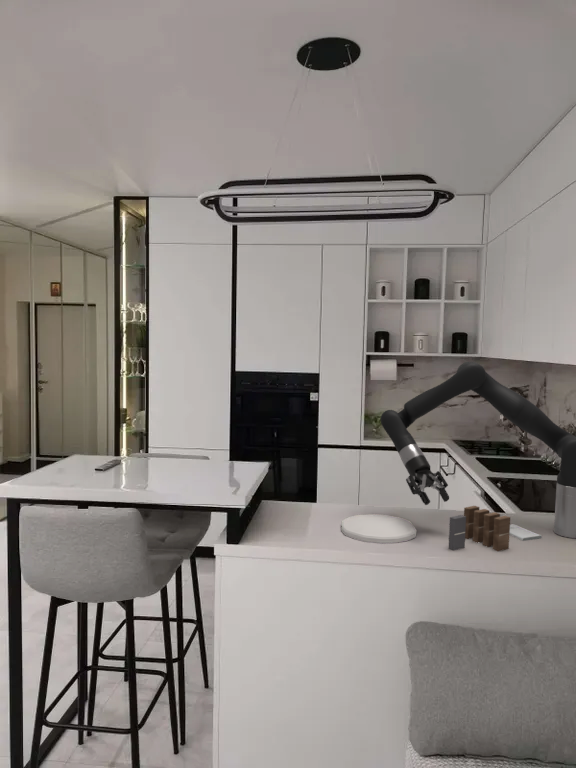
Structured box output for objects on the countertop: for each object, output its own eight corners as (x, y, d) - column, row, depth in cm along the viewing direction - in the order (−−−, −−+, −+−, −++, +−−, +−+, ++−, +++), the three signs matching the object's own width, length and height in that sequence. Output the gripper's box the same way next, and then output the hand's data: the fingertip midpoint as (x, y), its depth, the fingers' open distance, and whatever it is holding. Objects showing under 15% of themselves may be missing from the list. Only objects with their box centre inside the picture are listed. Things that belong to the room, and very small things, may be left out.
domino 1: (448, 548, 177) (449, 517, 176) (459, 545, 180) (461, 514, 179) (453, 550, 175) (454, 518, 175) (464, 547, 178) (466, 516, 177)
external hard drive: (522, 542, 185) (495, 530, 197) (541, 540, 188) (514, 527, 200) (522, 538, 185) (495, 525, 197) (541, 535, 188) (514, 523, 200)
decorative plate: (408, 509, 204) (422, 533, 180) (408, 520, 205) (422, 546, 180) (339, 507, 205) (344, 531, 180) (338, 519, 205) (343, 543, 181)
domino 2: (462, 537, 188) (464, 507, 187) (473, 534, 190) (474, 505, 189) (467, 539, 186) (469, 509, 185) (478, 536, 188) (479, 507, 188)
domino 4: (482, 545, 181) (484, 514, 180) (493, 542, 183) (494, 512, 182) (487, 547, 179) (489, 516, 178) (498, 544, 182) (500, 513, 181)
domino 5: (492, 549, 177) (494, 517, 177) (503, 546, 180) (504, 515, 179) (498, 551, 176) (499, 519, 175) (508, 548, 178) (510, 517, 177)
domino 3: (472, 541, 184) (474, 510, 183) (483, 538, 187) (484, 508, 186) (477, 543, 182) (479, 512, 182) (488, 540, 185) (489, 510, 184)
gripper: (404, 456, 187) (428, 499, 178) (435, 452, 194) (459, 493, 185) (392, 468, 192) (415, 510, 183) (423, 464, 199) (446, 505, 190)
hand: (437, 502), depth 184 cm, fingers open, 8 cm apart
